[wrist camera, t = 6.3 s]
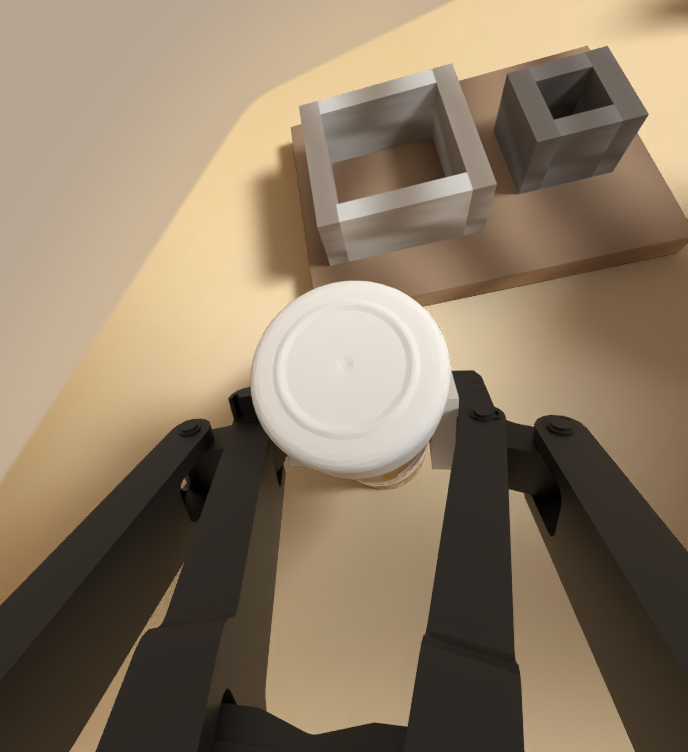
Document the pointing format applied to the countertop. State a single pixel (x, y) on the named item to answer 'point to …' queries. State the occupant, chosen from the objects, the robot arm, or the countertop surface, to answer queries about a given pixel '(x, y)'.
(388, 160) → the socket board
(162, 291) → the countertop surface
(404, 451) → the sprinkles bottle
